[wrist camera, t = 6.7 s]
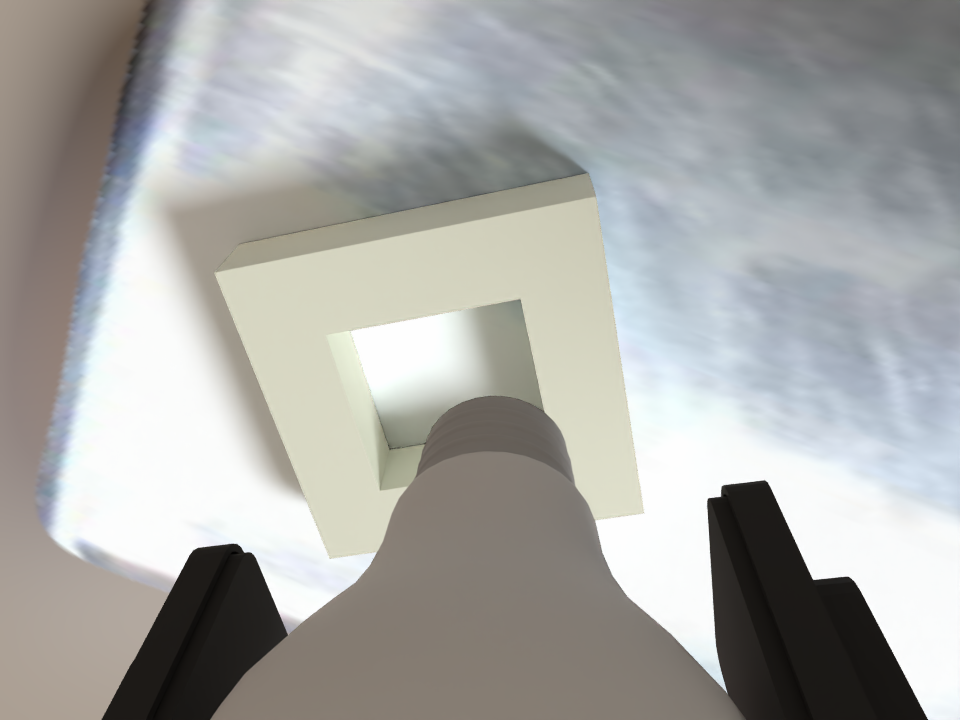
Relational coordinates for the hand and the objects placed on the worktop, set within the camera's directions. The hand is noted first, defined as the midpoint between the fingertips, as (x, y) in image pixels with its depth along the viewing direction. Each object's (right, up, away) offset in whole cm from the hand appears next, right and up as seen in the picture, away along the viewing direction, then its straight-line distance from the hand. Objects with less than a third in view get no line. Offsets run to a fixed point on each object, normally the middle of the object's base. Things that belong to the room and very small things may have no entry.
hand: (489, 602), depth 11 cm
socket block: (-1, +3, +23) cm, 23 cm away
